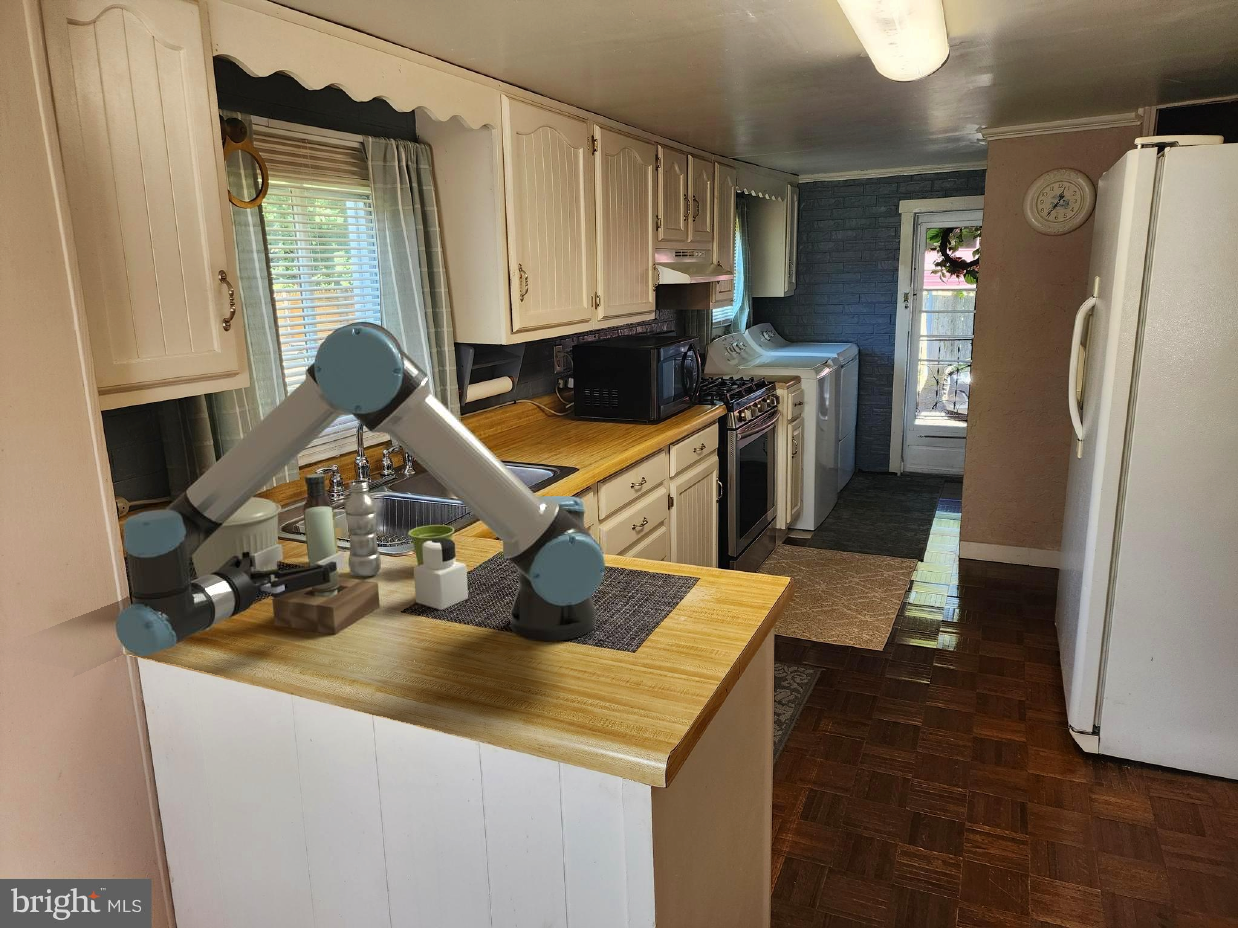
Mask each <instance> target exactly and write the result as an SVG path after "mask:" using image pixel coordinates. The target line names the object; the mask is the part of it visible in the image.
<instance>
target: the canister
mask: <svg viewBox="0 0 1238 928" xmlns="http://www.w3.org/2000/svg"><path fill="white" fill-rule="evenodd" d="M281 511H282V505H280V504H279V503H276V502H273V501H272V500H270V499H268V498H267V499H266V498H262V497H254V496H253V497H252V498H251V499H250V500H249V501H247V502H246V503H245V504H244V505H243V506H242V507H241V508H240V509H239V510H238V511H237V512H236V513H234V514H233V515H232V516H231V517H230V518H229V519H228V520H227V521H226V522H225V523H224V524H223V525H222V526H221V527H220V528H219V529H218V530H217V531H216V532H214V533H213V534H212V535H211V536H210V537H209V538H208V539H207V540H206V541H205V542H204V543H203V544H202V545H201V546H200V547H199V548H198V549H197V550H196V552H195V553H194V554H193V555H192V556H191V558H192V561H193V565H194V570H195V572H196V573H195V574H196V577H197V579H198V578H200V577H203V576H205V575H209V574H211V573H213V572H215V571H217V570H218V569H219V568H220V567H222V566H223V565H224V564H225V563H226V562H227V561H228V560H229V559H230V558H231V557H233V556H239V559H242V552H249V553H250V556H251V555H253V554H255V553H258V552H260V551H263V550H265V549H268V548H270V547H273V546H275V545H277V544H279V542H278V540H279V539H278V538H279V536H278V535H279V514H280V513H281ZM273 569H278V561H277V562H275V563H272V564H270V565H268V566H265V567H263V568H261V569H258V570H260V571H267V570H273ZM258 570H255V571H258ZM251 571H254V570H253V567H251ZM274 579H275V577H274V575H271V581H274Z"/></svg>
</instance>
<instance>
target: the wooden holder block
mask: <svg viewBox="0 0 1238 928" xmlns="http://www.w3.org/2000/svg"><path fill="white" fill-rule="evenodd" d="M338 580H339V588H338V589H337V594H335V595H333V596H331V597H330V598H328V597H320V596H315V592H314V591H312V587H311V588H307V589H303V590H299V591H295V592H291V593H287V594H285V595H282V596H280V597H277V598H273V597H272V598H271V601H272V602H271V603H272V610H273V619H274V626H276V627H284V628H290V629H297V630H304V631H311V632H315V633H316V632H317V633H322V634H323V633H324V634H331V635H337V634H339V633H340V632H341V631H344V630H345V629H347V628H349V627H350V626H352V625H353V624H355V623H357V622H358V621H360V620H361V619H364V617H365V618H366V616H368V615H370V614H371V613H373V612H375V611H376V610H378V609H380V607H381V606H380V593H379V592H380V591H379V582H378V581H373V580H363V579H354V578H348V577H347V578H346V577H339V576H338Z"/></svg>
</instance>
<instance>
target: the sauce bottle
mask: <svg viewBox="0 0 1238 928" xmlns="http://www.w3.org/2000/svg"><path fill="white" fill-rule="evenodd" d="M304 480H305V481H304V482H305V485H306V491H307V493H306V495H307V499H306V501H305V503H304V505H303V507H302V508H303V509H302V510H303V511H302V512H303V518H304V519H303V523H304V533H305V541H306V542H305V543H306V551H307V559H308V563H309V566H310V560H309V550H308V540H307V530H306V520H305V510H306V509H309V508H313V507H320V506H327V507H331V508H332V516H333V527H334V537H335V548H336V553H339V549H338V548H339V547H338V538H337V536H338V535H337V528H336V527H337V526H336V519H335V518H336V517H335V509H334V506H333V505H332V503H331V501H330V499H329V497H328V495H327V489H326V474H325V473H311V474H307V475H304Z"/></svg>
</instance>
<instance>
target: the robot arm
mask: <svg viewBox="0 0 1238 928" xmlns="http://www.w3.org/2000/svg"><path fill="white" fill-rule="evenodd" d="M430 390H431V389H430V376H429V375H428V374H427V373H426V372H425V370H423V369H422V368H421V366H419V365H418V364H417V362H415V361H414V360H413V359H412V358H411V357H410V356H409V355H408V354H407V353H406V352H405V351H404V350H403V349H402V346H401V344H400V343H399V341H398V339H397V338H396V337H395V336H394V334H393V333H391V332H390V331H389V330H388V329H387V328H385V327H383V326H382V325H381V324H380V325H379V324H376V323H373V322H368V321H356V322H352V323H349V324H346V325H342V326H340V327H338V328H336V329H335V330H333V331H332V332H331V333H330V334H328V335H327V336H326V337H325V339H324V340H323V341H322V342H321V343H320V344H319V347H318V349H317V351H316V354H315V358H314V361H313V363H311V365H309V366H308V368H307V369H306V370H305V379H304V380H303V381H302V382H301V383H300V384H299V385H298V386H297V387H296V388H295V389H294V390H292V392H290V394H288V395H287V396H286V397H285V398H284V399H283V400H282V401H281V402H280V403H279V404H278V405H277V406H276V407H274V408H273V409H272V410H271V411H269V413H267V415H266V416H264V418H263V419H261V420H260V421H259V422H258V423H257V424H256V425H255V426H254V427H253V428H252V429H251V430H250V431H249V432H248V433H246V434H245V435H244V436H243V437H242V438H241V439H240V440H238V441H237V442H236V443H235V445H233V446H232V447H231V448H230V449H229V450H228V451H227V452H226V453H225V454H224V455H222V457H220V458H219V460H218V461H216V462H215V463H214V464H213V465H212V466H211V467H209V469H207V471H205V473H204V474H202V475H201V476H200V477H199V478H198V479H197V480H195V481H194V483H193V484H191V485H190V486H189V487H188V488H187V490H186V491H184V492H183V493H181V495H179V497H177V498H176V499H175V500H174V501H173V502H172V503H170V504H169V505H168V506H167V507H166V508H165V509H158V510H147V511H142V512H139V513H137V514H134V515H131V516H129V517H128V518H126V520H125V521H124V523H123V538H124V540H123V546H124V547H123V548H124V550H125V553H126V560H127V567H128V574H129V580H130V586H131V587H130V588H131V598H132V604H130V605H128V606H127V607H125V608H124V609H122V610H120V612H119V614H118V615H117V621H116V622H115V632H116V637H117V638H118V641H119V642H120V643H121V645H122V647H124V649H126V651H128V652H129V653H131V654H132V655H135V656H139V657H147V656H151V655H154V654H156V653H158V652H161V651H164V650H166V649H170V648H173V647H174V646H176V644H178V643H180V642H182V641H184V640H186V639H188V638H190V637H192V636H195V635H196V634H198V633H200V632H204V631H209V630H210V629H211V628H212V627H214V626H216V625H217V624H219V623H222V622H223V621H226V620H228V619H230V618H233V617H235V616H237V615H239V614H241V613H243V612H245V611H247V610H248V609H250V608H251V606H252V605H253V604H254V601H255V599H256V598H257V597H261V596H264V595H265V594H270V593H271V597H272V599H273V598H277V597H280V596H282V595H285V594H287V593H291V592H295V591H299V590H303V589H307V588H311V587H314V586H318V585H323V584H326V583H329V582H330V574H331V573H333V572H335V571H338V572H339V570H342V569H343V568H345V567H346V559H345V552H344V551H338V553H336V554H334V555H332V556H330V557H328V558H325V559H323V560H321V561H319V562H317V563H316V565H315V566H310V565H309V566H305V567H299V568H298V567H296V568H292V569H284V570H279V569H278V568H277V569H273V570H267V571H260V570H258V569H261V568H263V567H265V566H268V565H270V564H272V563H275V562H277V563H278V562H279V561H281V560H283V559H284V557H283V546H282V544H279V543H278V544H277V545H275V546H273V547H270V548H268V549H265V550H263V551H260V552H258V553H255V554H253V555H251V556H250V553H249V552H242V559H239V556H233V557H231V558H230V559H229V560H228V561H227V562H226V563H225V564H224V565H223V566H222V567H220V568H219V569H218V570H217V571H215V572H213V573H211V574H209V575H205V576H203V577H200V578H198V577H197V578H196V579H193V580H192V579H191V572H190V571H191V570H190V564H189V560H190V558H192V555H193V554H194V553H195V552H196V550H197V549H198V548H199V547H200V546H201V545H202V544H203V543H204V542H205V541H206V540H207V539H208V538H209V537H210V536H211V535H212V534H213V533H214V532H216V531H217V530H218V529H219V528H220V527H221V526H222V525H223V524H224V523H225V522H226V521H227V520H228V519H229V518H230V517H231V516H232V515H233V514H234V513H236V512H237V511H238V510H239V509H240V508H241V507H242V506H243V505H244V504H245V503H246V502H247V501H249V500H250V499H251V498H252V497H254V496H255V495H256V494H258V493H259V492H260V491H261V489H263V488H264V487H265V486H266V485H267V484H268V483H270V481H271V480H273V479H274V478H275V477H276V476H277V475H278V474H279V473H280V472H281V471H282V470H284V468H286V467H287V466H288V465H289V464H290V463H291V462H292V461H293V460H294V459H295V458H296V457H298V456H299V454H301V453H302V452H303V451H304V450H305V449H306V448H307V447H309V446H310V445H311V443H313V442H314V441H315V440H316V439H317V438H318V437H319V436H320V435H321V434H323V432H325V431H326V430H327V429H328V428H329V427H330V426H331V425H332V424H334V422H335V421H337V420H338V419H339V418H340V417H341V416H345V415H346V416H349V415H351V416H353V417H354V418H355V419H356V420H358V422H360V423H361V425H363V426H364V428H366V429H367V430H368V431H369V432H370V433H372V434H373V433H375V434H377V433H378V434H379V433H381V434H382V433H386V434H388V435H389V436H390V437H391V438H392V439H393V440H394V441H396V442H397V444H399V445H400V446H401V448H403V449H404V450H405V451H406V452H407V453H408V454H410V455H411V457H412V458H414V460H416V461H417V462H418V463H419V464H420V465H421V466H422V467H423V468H424V469H425V470H426V471H427V472H429V474H431V476H433V477H434V478H435V480H437V481H438V482H439V483H440V484H442V486H443V487H444V488H446V489H447V490H448V491H449V492H450V493H451V494H452V495H453V496H454V497H455V498H456V499H458V501H459V502H460V503H462V504H463V505H464V507H466V508H467V509H468V510H469V511H471V513H472V514H473V515H474V516H475V517H476V518H478V519H479V520H480V521H481V522H482V523H483V524H484V525H485V526H486V527H487V528H488V529H489V531H491V532H493V534H495V535H496V536H497V537H498V538H499V539H500V540H501V541H502V556H504V557H505V558H506V559H507V560H508V561H509V563H511V565H513V566H514V567H515V568H516V569H517V570H518V587H517V590H516V593H515V598H514V600H513V603H512V608H511V610H510V615H509V616H510V621H509V622H510V629H511V630H512V632H513V633H514V634H516V635H517V636H519V637H521V638H524V639H527V640H531V641H532V640H533V641H539V642H557V641H566V640H571V639H576V638H579V637H582V636H584V635H587V634H588V633H590V632H591V631H593V630H594V628H595V627H596V625H597V610H596V607H595V605H594V601H593V599H592V595H594V594H595V592H596V591H597V590H598V588H599V587H600V585H601V583H602V582H603V580H604V576H605V570H606V561H605V557H604V554H603V553H604V552H603V550H602V547H601V545H600V544H599V543H598V542H597V541H596V540H595V538H594V536H592V534H591V533H590V531H589V530H588V528H587V527H586V525H585V513H586V510H585V508H584V502H583V500H582V499H581V498H579V497H576V496H569V495H567V496H566V495H557V496H556V495H552V496H551V495H550V496H541V497H540V496H539V497H538V496H537V495H536V494H535V493H534V492H533V491H532V490H531V489H530V488H529V487H528V486H527V485H526V484H525V483H524V482H523V481H522V480H521V479H520V478H519V477H518V476H517V475H516V474H515V473H514V472H513V471H511V469H510V468H509V467H507V465H506V464H504V462H502V461H501V460H500V458H498V457H497V456H496V455H495V454H494V453H493V452H492V451H491V450H490V449H489V448H488V447H487V446H486V445H485V444H484V443H483V442H482V441H481V440H480V439H479V438H478V437H477V436H476V435H475V434H474V433H473V432H472V431H470V429H469V428H467V426H465V425H464V424H463V422H462V421H461V420H460V419H459V418H458V417H456V415H454V413H453V412H451V411H450V410H449V408H447V407H446V406H445V405H444V404H443V403H442V402H441V401H440V400H439V399H438V398H437V397H436V396H435V395H434V394H433V393H432V392H431V391H430ZM251 567H253V570H254V571H251ZM255 570H258V571H255ZM271 575H274V577H275V579H274V581H271Z"/></svg>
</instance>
